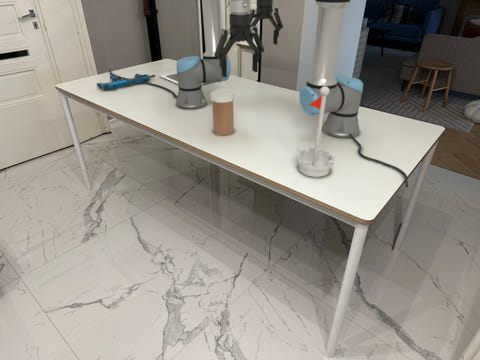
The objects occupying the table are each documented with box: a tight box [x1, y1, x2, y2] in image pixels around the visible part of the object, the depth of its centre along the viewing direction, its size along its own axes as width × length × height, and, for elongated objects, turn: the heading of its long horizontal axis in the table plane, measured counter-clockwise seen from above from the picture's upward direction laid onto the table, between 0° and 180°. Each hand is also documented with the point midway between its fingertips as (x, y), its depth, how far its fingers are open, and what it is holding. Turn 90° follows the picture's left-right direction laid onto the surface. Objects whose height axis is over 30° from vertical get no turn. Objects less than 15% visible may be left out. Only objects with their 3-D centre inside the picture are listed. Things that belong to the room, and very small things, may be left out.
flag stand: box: [296, 87, 335, 178], centre depth 114 cm, size 13×13×30 cm
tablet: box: [159, 71, 208, 86], centre depth 214 cm, size 32×20×1 cm, turn 41°
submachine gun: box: [96, 73, 156, 91], centre depth 208 cm, size 34×4×25 cm
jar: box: [211, 100, 235, 136], centre depth 145 cm, size 9×9×17 cm
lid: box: [209, 88, 236, 103], centre depth 141 cm, size 10×10×2 cm
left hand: (239, 73), depth 131 cm, fingers open, 13 cm apart
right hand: (263, 45), depth 167 cm, fingers open, 13 cm apart
